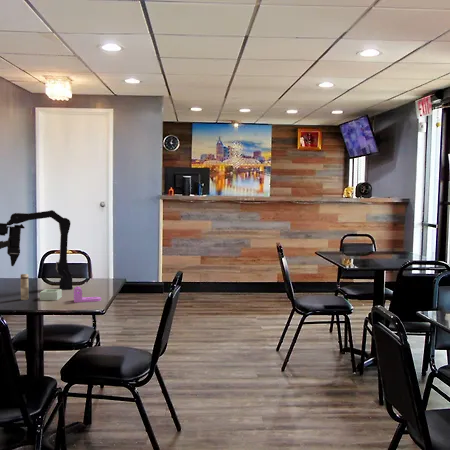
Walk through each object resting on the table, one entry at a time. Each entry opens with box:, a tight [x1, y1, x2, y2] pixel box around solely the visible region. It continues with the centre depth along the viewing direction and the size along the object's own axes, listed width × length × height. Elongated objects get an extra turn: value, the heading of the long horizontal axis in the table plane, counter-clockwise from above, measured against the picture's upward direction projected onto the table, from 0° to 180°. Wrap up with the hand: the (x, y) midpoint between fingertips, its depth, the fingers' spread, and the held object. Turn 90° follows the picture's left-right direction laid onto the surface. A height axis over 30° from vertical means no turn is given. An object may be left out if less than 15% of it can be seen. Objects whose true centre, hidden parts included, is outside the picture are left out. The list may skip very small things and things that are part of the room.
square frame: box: [39, 288, 63, 301], centre depth 255 cm, size 8×8×4 cm
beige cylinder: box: [20, 273, 29, 301], centre depth 252 cm, size 4×4×12 cm
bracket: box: [73, 286, 102, 303], centre depth 251 cm, size 13×6×7 cm, turn 108°
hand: (12, 265), depth 273 cm, fingers open, 9 cm apart
